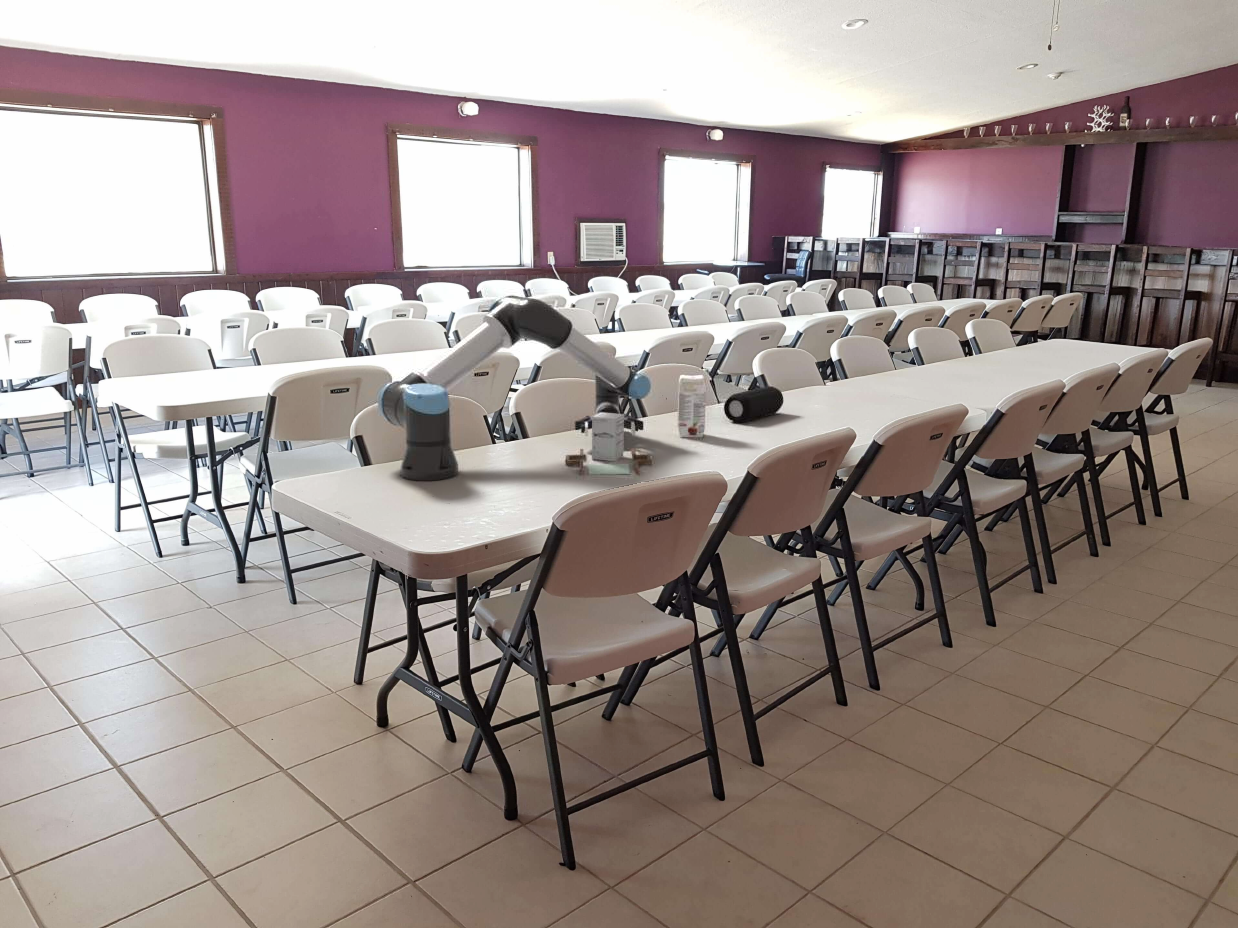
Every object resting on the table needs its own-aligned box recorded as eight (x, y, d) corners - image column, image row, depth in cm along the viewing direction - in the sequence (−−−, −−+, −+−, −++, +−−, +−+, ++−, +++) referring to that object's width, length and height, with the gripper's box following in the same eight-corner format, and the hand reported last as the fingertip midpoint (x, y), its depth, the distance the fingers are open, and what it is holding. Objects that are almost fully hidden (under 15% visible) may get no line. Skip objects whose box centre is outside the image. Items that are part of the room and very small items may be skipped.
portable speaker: (761, 411, 341) (762, 383, 338) (785, 414, 335) (786, 386, 332) (721, 422, 322) (722, 393, 319) (745, 426, 316) (747, 396, 313)
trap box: (564, 475, 252) (564, 469, 252) (566, 453, 276) (566, 448, 275) (654, 475, 253) (654, 469, 253) (648, 453, 277) (648, 448, 276)
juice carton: (705, 438, 297) (706, 378, 292) (677, 438, 297) (679, 378, 292) (703, 433, 304) (705, 374, 299) (676, 432, 304) (678, 374, 299)
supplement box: (591, 459, 269) (591, 416, 266) (600, 454, 276) (600, 411, 273) (615, 462, 267) (615, 418, 264) (624, 456, 273) (624, 413, 270)
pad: (588, 474, 253) (588, 473, 253) (588, 465, 263) (588, 464, 263) (630, 474, 254) (630, 473, 254) (628, 465, 263) (628, 464, 263)
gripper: (647, 428, 294) (653, 443, 274) (567, 428, 293) (566, 444, 273) (648, 404, 293) (653, 418, 272) (567, 404, 292) (566, 418, 271)
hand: (610, 431), depth 272 cm, fingers open, 13 cm apart
